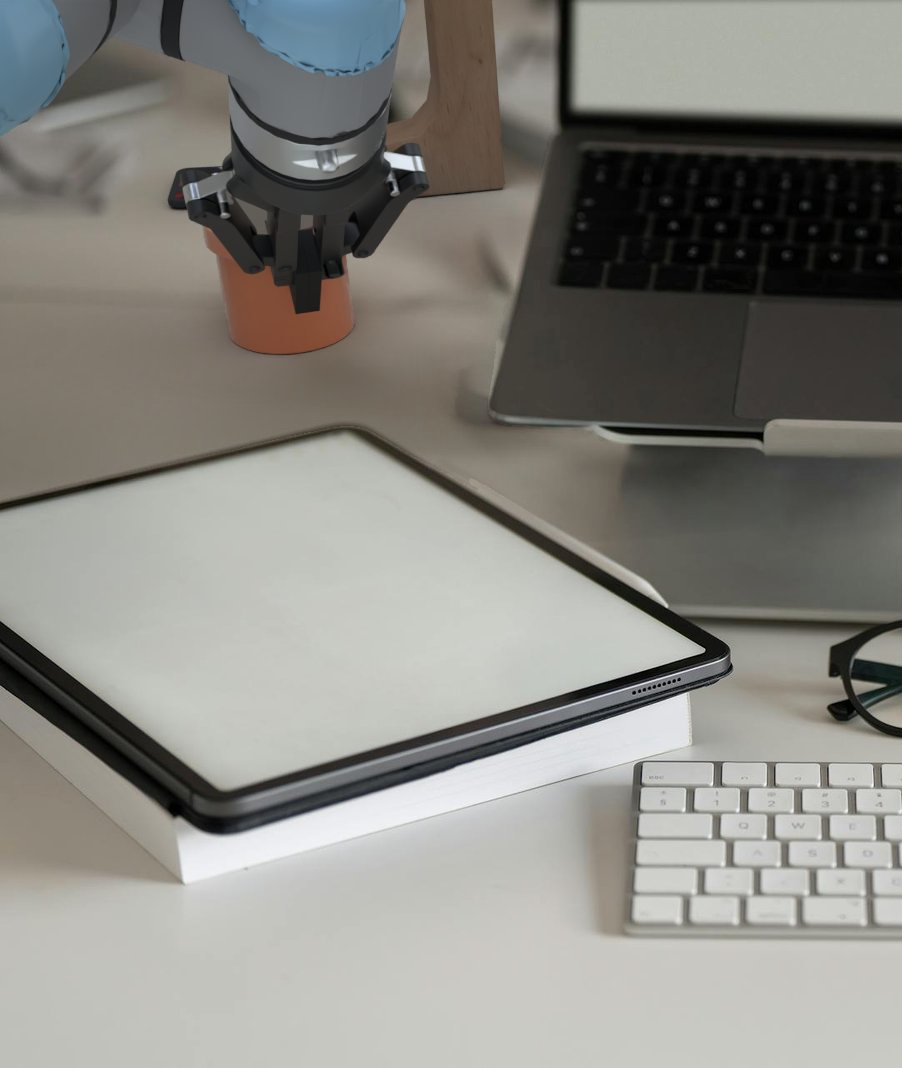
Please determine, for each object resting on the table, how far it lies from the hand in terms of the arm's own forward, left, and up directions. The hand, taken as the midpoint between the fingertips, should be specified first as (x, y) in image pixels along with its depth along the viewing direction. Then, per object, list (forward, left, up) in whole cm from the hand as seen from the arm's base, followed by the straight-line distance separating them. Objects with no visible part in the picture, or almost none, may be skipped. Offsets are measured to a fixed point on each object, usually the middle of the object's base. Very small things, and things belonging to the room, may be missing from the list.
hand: (303, 292), depth 106 cm
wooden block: (-5, +30, -5) cm, 31 cm away
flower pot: (-4, +4, -5) cm, 7 cm away
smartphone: (-17, +25, -5) cm, 31 cm away
